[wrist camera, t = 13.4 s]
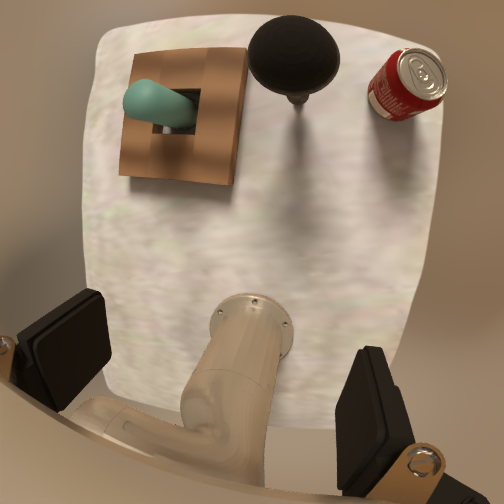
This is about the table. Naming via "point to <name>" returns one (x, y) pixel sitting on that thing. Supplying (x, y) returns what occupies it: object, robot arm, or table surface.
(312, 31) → the microphone
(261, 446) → the robot arm
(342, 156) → the table surface
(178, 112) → the peg
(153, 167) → the socket board
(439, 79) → the soda can
